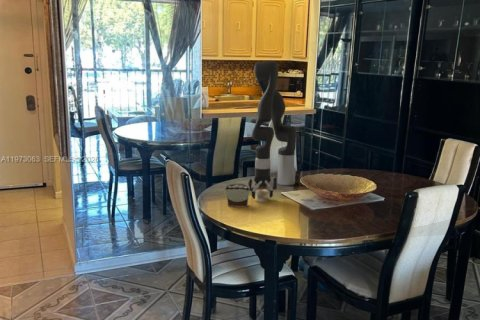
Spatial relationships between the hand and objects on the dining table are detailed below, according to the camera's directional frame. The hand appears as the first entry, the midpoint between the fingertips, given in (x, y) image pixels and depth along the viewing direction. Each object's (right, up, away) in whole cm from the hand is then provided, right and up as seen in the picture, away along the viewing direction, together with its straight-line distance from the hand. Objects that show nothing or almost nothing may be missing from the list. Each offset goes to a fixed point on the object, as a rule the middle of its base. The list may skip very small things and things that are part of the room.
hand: (262, 197), depth 224 cm
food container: (-12, -3, -6) cm, 14 cm away
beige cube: (0, -1, 0) cm, 1 cm away
